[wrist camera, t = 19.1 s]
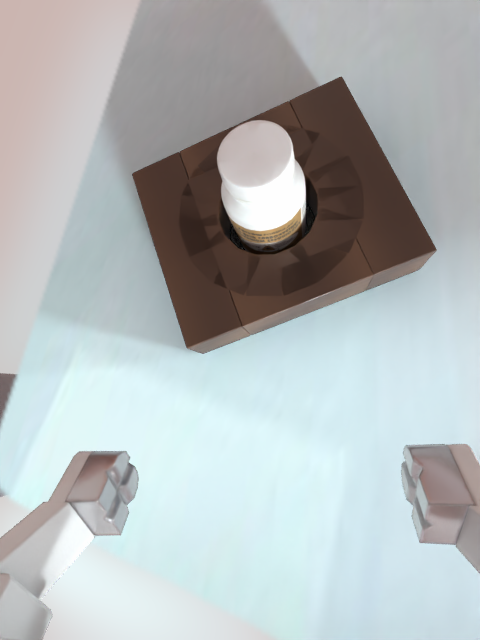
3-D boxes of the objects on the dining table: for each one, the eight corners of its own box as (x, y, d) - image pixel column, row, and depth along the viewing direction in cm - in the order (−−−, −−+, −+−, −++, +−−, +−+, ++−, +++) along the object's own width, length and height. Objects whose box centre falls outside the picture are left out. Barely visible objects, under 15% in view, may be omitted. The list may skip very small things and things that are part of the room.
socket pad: (202, 354, 22) (186, 348, 19) (151, 198, 25) (131, 173, 22) (419, 269, 21) (437, 250, 18) (337, 114, 24) (341, 75, 21)
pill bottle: (241, 266, 23) (208, 206, 15) (237, 205, 24) (204, 120, 16) (309, 257, 22) (309, 189, 15) (303, 194, 23) (299, 100, 16)
